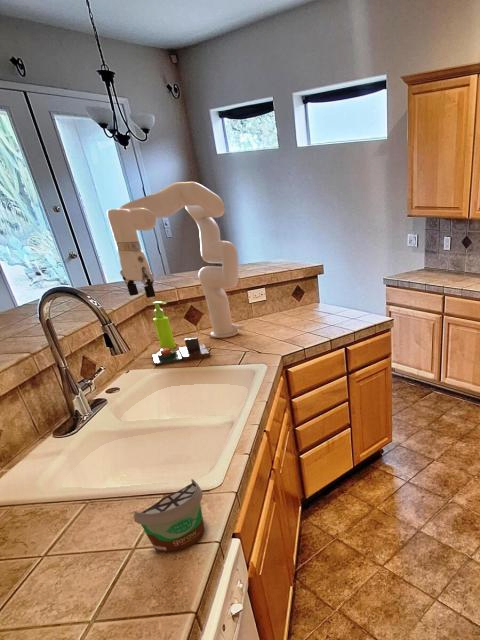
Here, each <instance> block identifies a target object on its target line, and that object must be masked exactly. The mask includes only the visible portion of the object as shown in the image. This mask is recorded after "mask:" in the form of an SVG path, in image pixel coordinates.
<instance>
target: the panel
mask: <svg viewBox="0 0 480 640" xmlns="http://www.w3.org/2000/svg"><path fill="white" fill-rule="evenodd" d="M199 346H200V350H196V351H190V352H188V351H187V348H186V346H183V347H179V348H178V351H179V353H180V355H181V357H182V360H183V362H191V361H196V360H202V359H207V358H208V359H209V358H211V354H210V352H209V350H208V348H207V347H206V345H205V344H199Z"/></svg>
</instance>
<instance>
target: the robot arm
mask: <svg viewBox="0 0 480 640" xmlns="http://www.w3.org/2000/svg"><path fill="white" fill-rule="evenodd" d="M184 208H185V210H186V211H187V213H188V215H190V217H191V218H192V219H193V221H194V222H195V223H196V225H197V227H198V231H199V233H198V234H199V245H200V255H201V258H202V260H203V261H204V262H206V263H209V264H221V266H220V265H219V266H218V265H216V266H215V265H207V266H203V267H201V268H200V269H199V271H198V280H199V282H200V286H201V287H202V290H203V294H204V296H205V301H206V306H207V309H208V315H209V319H210V323H211V328H212V331H211V332H210V335H209V336H210V337H211V338H214V339H224V338H225V339H226V338H232V337H234V336H236V335H238V334H239V331H238V330H242V329H243V330H244V329H245V325H244V324H234V323H233V319H232V313H231V307H230V302H229V298H228V295H227V293H226V291H225V289H228V290H230V289H231V290H232V289H235V288H236V287H237V286H238V283H239V260H238V259H239V258H238V257H239V256H238V252H237V251H238V250H237V248H236V245H234V244H233V242H231V241H228V240H222V239H221V231H220V227H219V225H218V223H217V222H216V220H215V219H214V218H221V217H222V216H223V215H224V214H225V211H226V206H225V203H224V201H223V200H222V198H221V197H220V196H219V195H218V194H216V193H214V192H213V191H212V190H211V189H209V188H207V187H206V186H204V185H202V184H200V183H198V182H197V181H196V182H195V181H178V182H177V181H176V182H173V183H171V184H170V185H167V186H166V187H163V188H162V189H161V190H158V191H157V192H155V193H152V194H149V195H146V196H142V197H140V198H137V199H134V200H131V201H129V202H127V203H125V204H123V205H121V206H119V207H118V208H110V209H107V211H106V217H107V219H108V223H109V227H110V230H111V234H112V236H113V241H114V243H115V247H116V250H117V253H118V258H119V264H120V267H121V270H120V271H119V273H120V275H121V278H122V280H123V281H124V284H125V285H126V287H127V291H128V295H129V296H131V297H132V296H138V295H139V289H138V288H137V284H136V283H135V281H136V282H137V281H138V282H141V283H142V284H143V290H144V293H145V296H146V298H148V299H150V298H154V297H156V293H155V289H154V281H155V280H154V273H152V271H151V268H150V266H149V265H150V264H149V263H148V260H147V258H146V255H145V253H144V251H143V249H142V247H141V243H140V239H139V236H138V232H137V231H141V232H143V231H144V232H145V231H146V232H147V231H151V230H153V229H154V228H156V227H157V224H158V223H157V221H158V220H157V219H163V218H168V217H170V216H172V215H174V214H175V213H177V212H179V211H180V210H181V209H184Z"/></svg>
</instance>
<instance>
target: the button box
mask: <svg viewBox="0 0 480 640" xmlns="http://www.w3.org/2000/svg"><path fill="white" fill-rule="evenodd" d="M170 351H171V353H168V354H161V351H158V352H157V353H156V354H152V358H153V363H154V365H155V366H156V367H159V366H163V365H167V364H175V363H181V362H184V360H183V357H182V355H181V353H180V350H173V349H170Z"/></svg>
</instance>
